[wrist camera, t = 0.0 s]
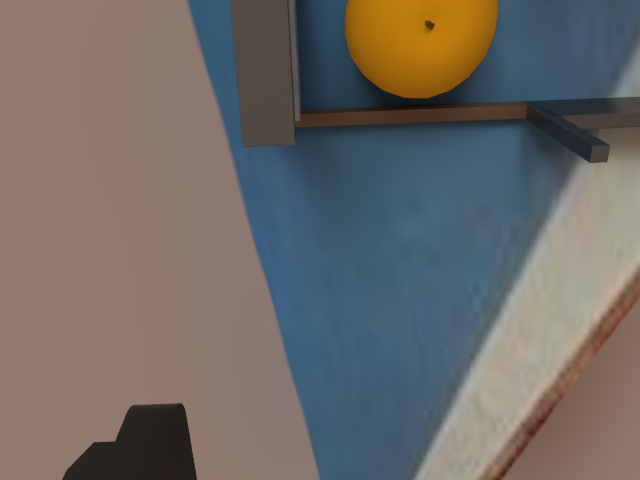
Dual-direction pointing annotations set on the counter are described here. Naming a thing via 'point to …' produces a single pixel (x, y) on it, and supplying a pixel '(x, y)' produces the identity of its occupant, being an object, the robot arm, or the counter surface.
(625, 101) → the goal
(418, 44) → the orange
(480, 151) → the counter surface
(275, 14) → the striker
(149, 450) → the robot arm
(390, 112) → the rails
